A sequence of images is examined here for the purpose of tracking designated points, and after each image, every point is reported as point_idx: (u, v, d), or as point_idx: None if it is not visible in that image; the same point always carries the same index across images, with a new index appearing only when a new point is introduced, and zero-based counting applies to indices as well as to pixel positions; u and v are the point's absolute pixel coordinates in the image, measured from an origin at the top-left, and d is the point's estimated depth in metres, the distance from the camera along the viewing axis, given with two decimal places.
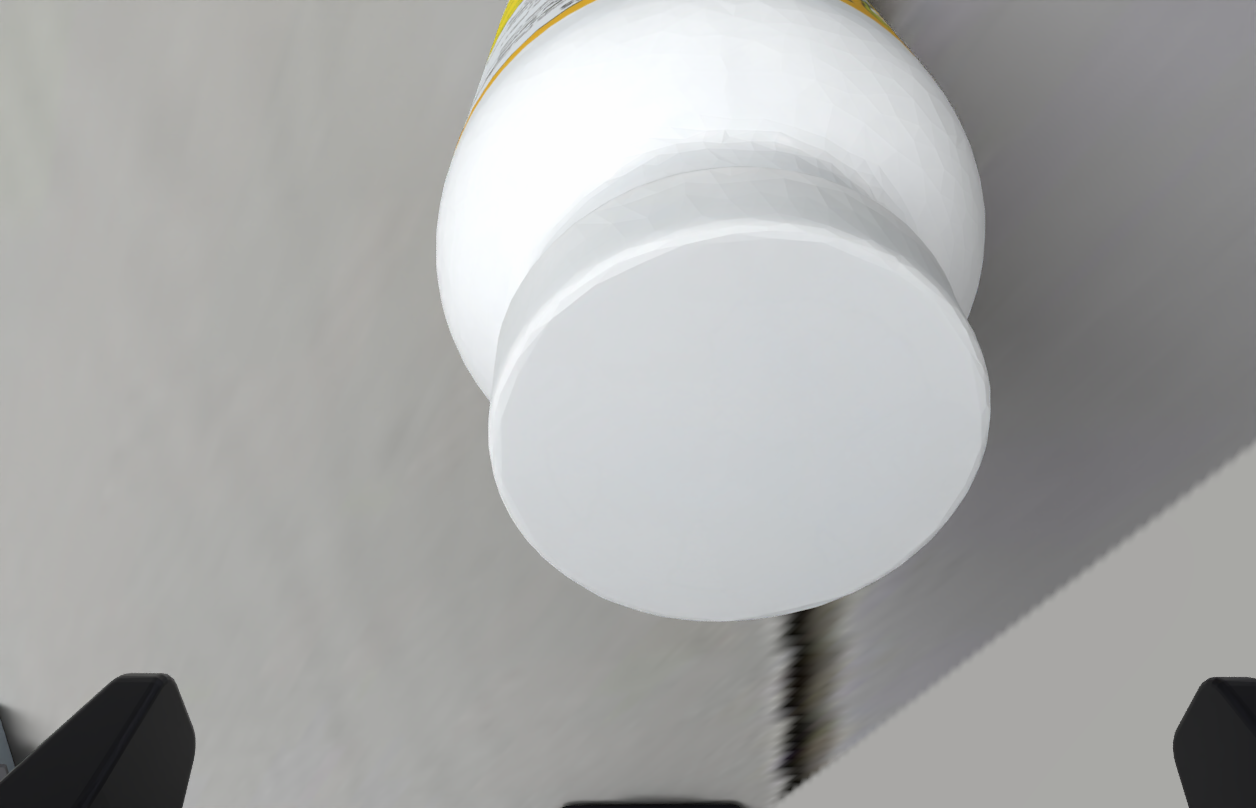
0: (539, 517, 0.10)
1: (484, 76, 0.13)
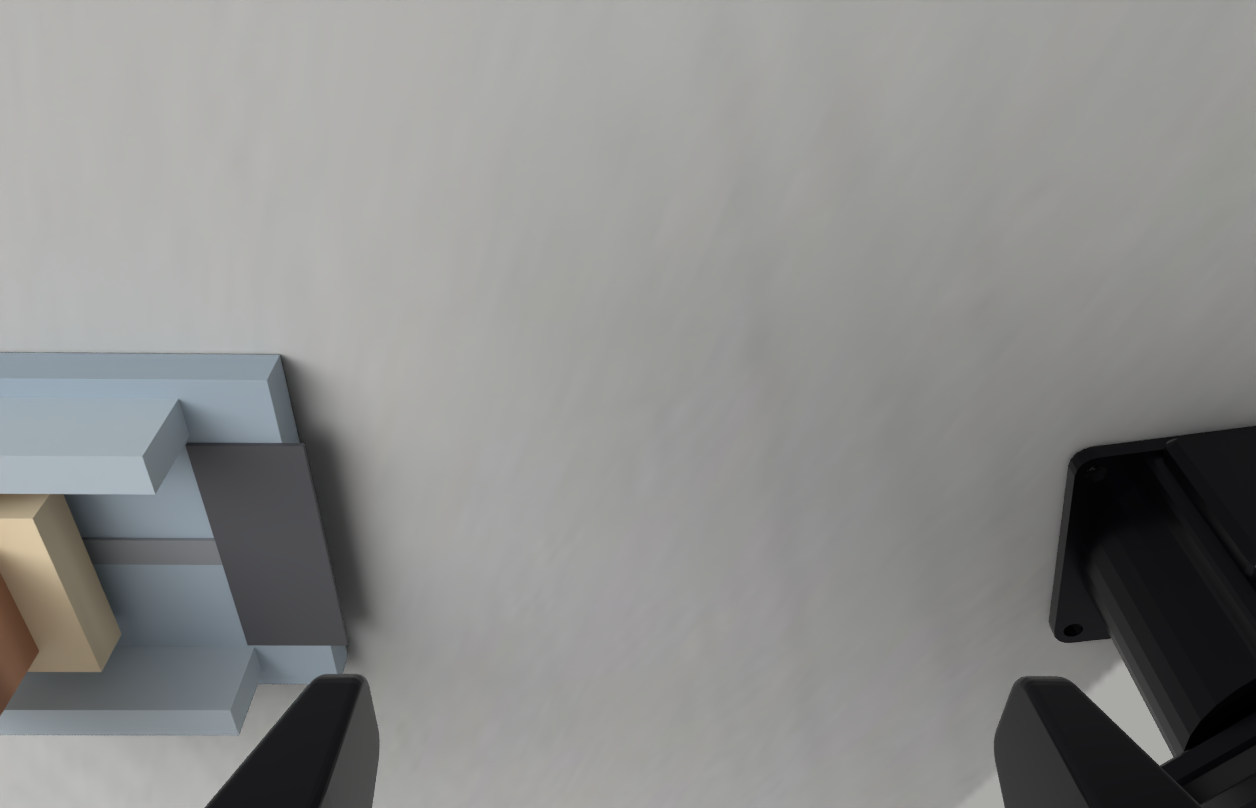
0: None
1: None
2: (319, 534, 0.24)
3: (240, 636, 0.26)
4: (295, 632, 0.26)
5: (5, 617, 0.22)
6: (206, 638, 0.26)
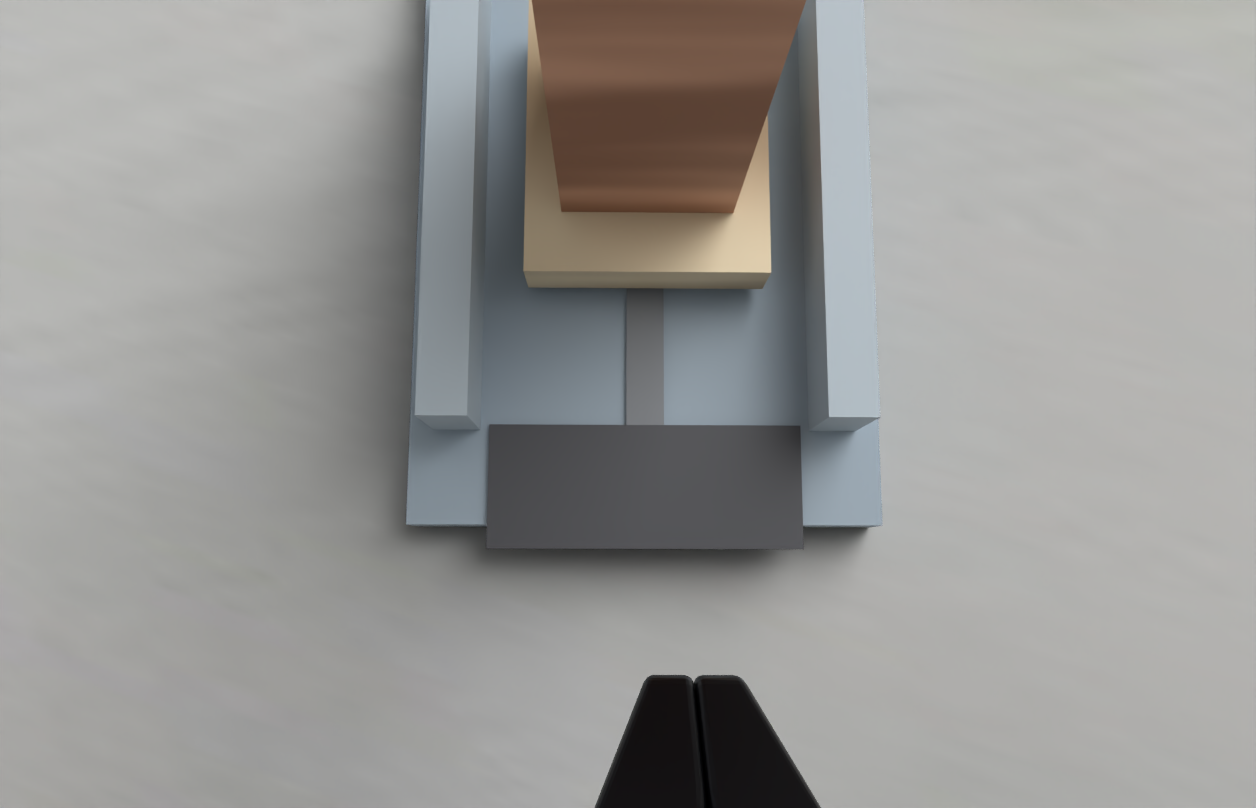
0: None
1: None
2: (675, 545, 0.21)
3: (500, 417, 0.21)
4: (512, 487, 0.21)
5: (644, 204, 0.20)
6: (496, 375, 0.21)
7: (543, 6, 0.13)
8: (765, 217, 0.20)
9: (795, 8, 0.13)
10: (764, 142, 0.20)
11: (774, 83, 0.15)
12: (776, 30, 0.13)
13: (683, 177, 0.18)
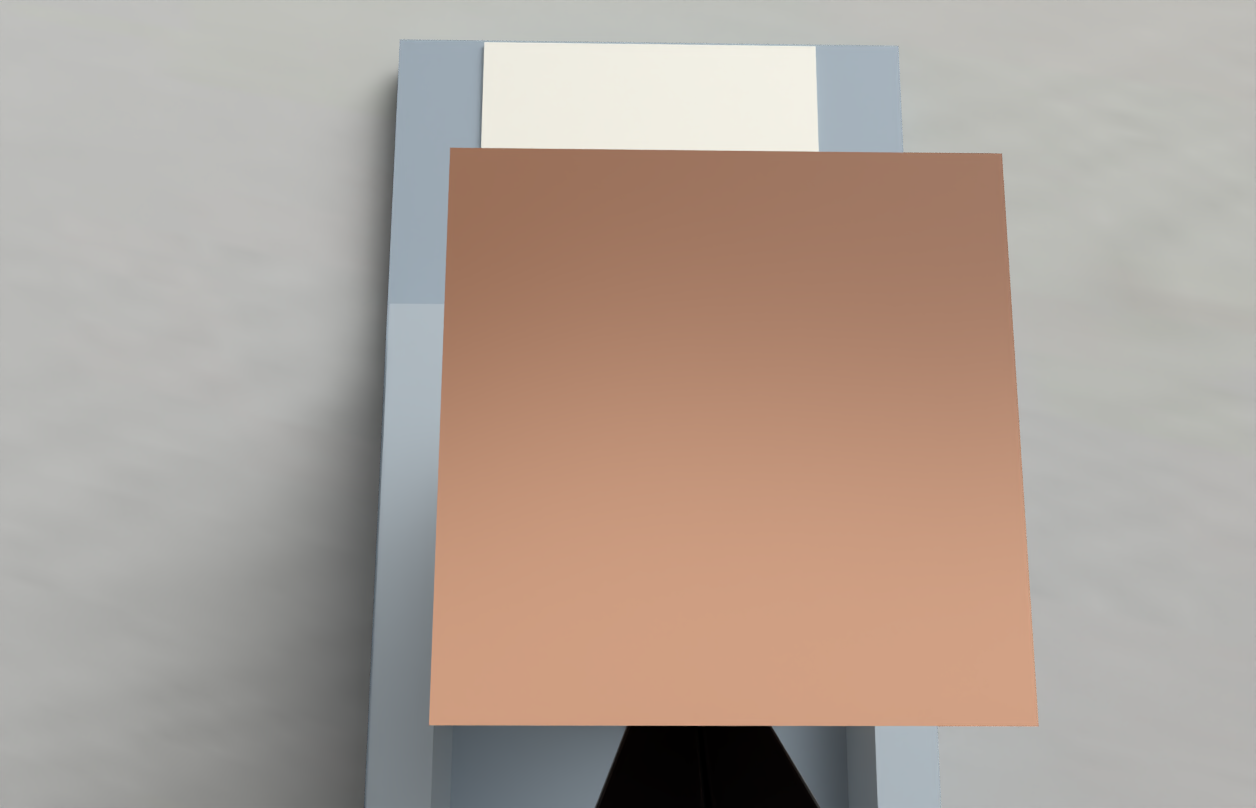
0: None
1: None
2: None
3: None
4: None
5: None
6: None
7: None
8: None
9: None
10: None
11: None
12: None
13: None
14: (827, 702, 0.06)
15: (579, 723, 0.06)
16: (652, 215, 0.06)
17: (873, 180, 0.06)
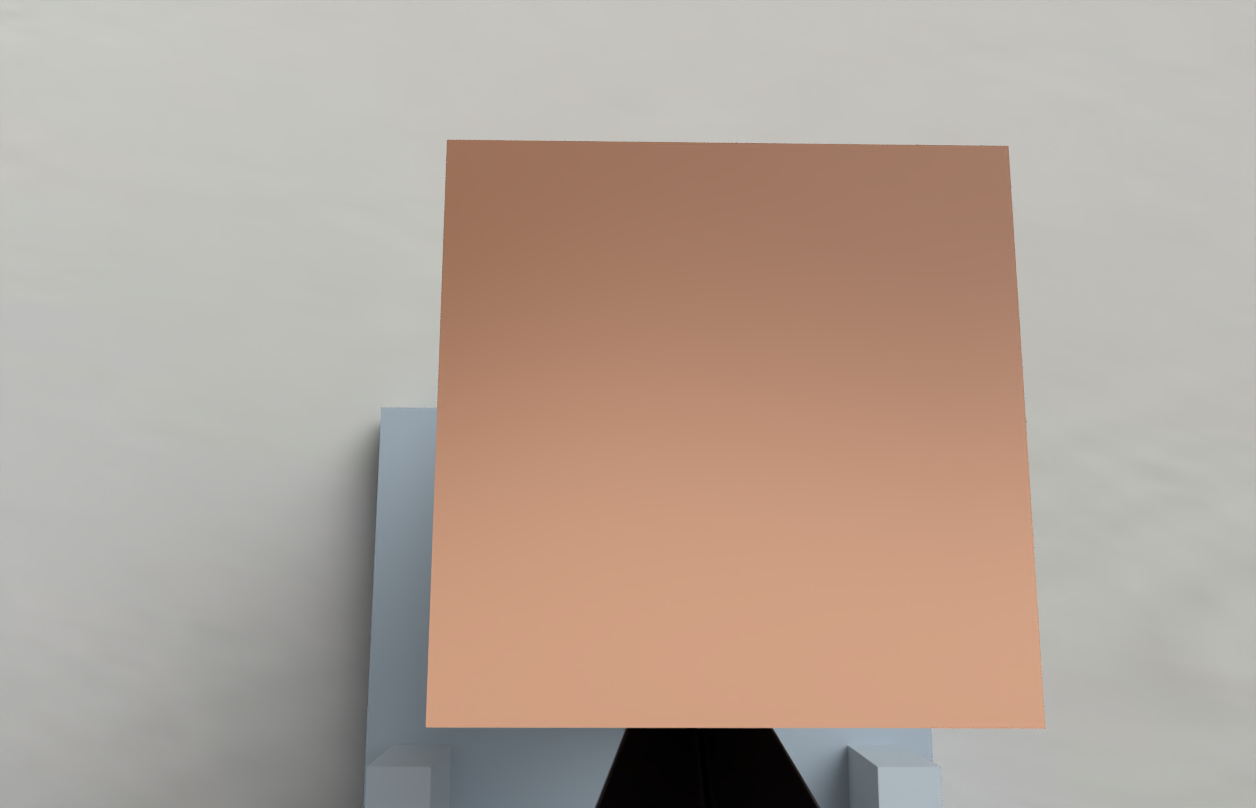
0: None
1: None
2: None
3: None
4: None
5: None
6: None
7: None
8: None
9: None
10: None
11: None
12: None
13: None
14: (829, 703, 0.06)
15: (577, 725, 0.06)
16: (652, 208, 0.06)
17: (877, 173, 0.06)
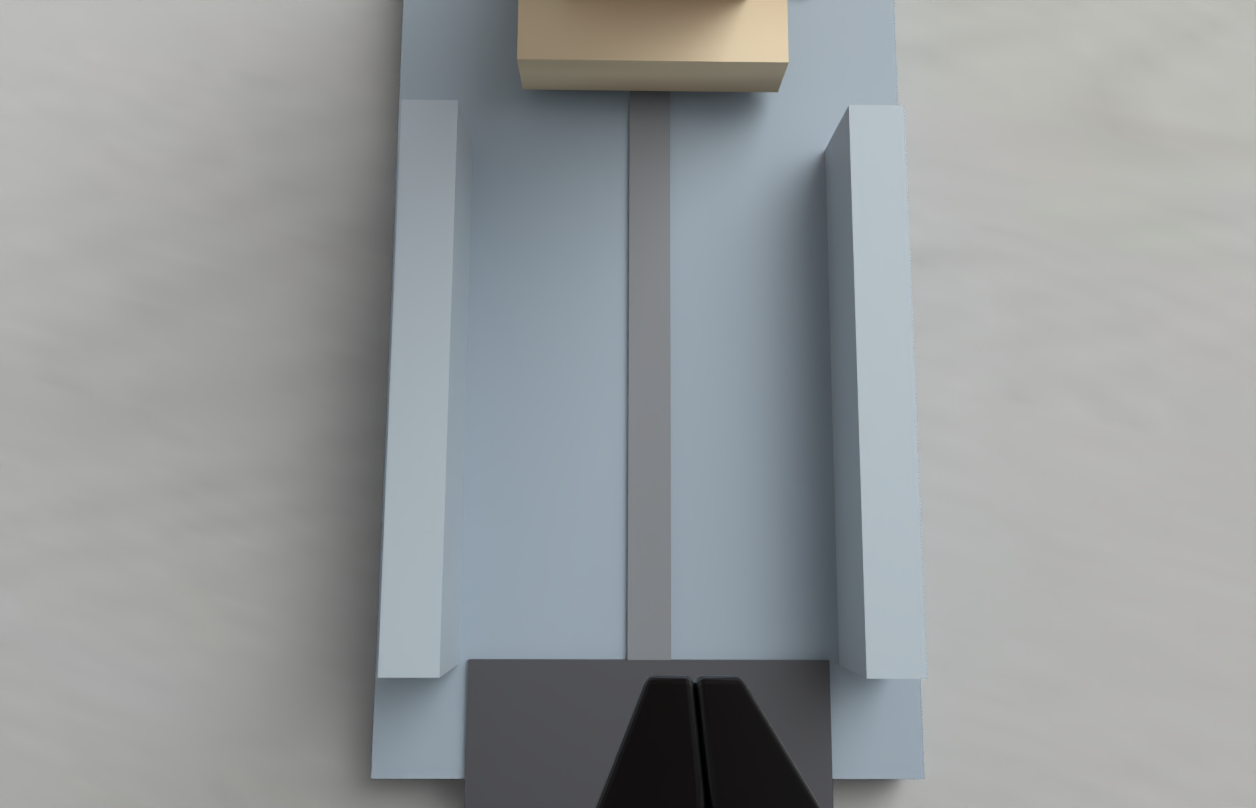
0: None
1: None
2: None
3: (481, 649, 0.18)
4: (494, 736, 0.18)
5: None
6: (477, 599, 0.18)
7: None
8: (782, 3, 0.18)
9: None
10: None
11: None
12: None
13: None
14: None
15: None
16: None
17: None
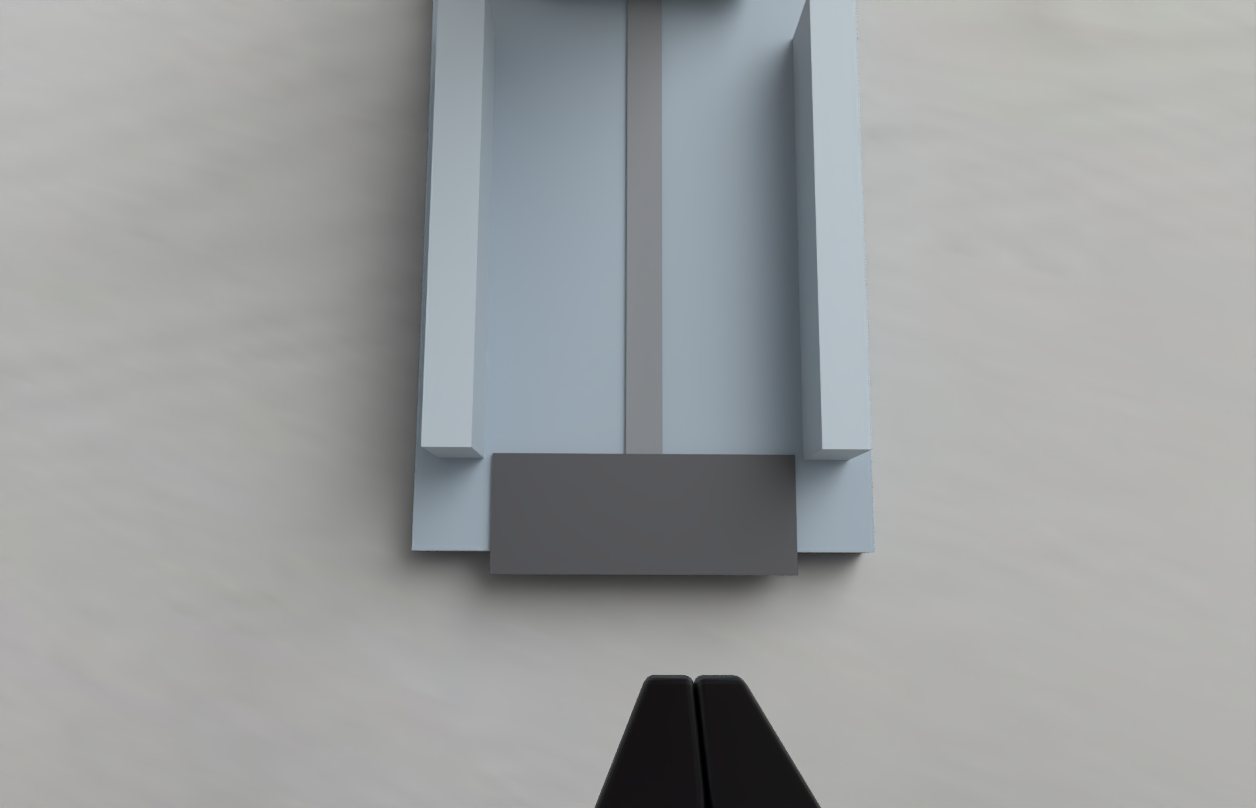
0: None
1: None
2: (673, 571, 0.21)
3: (503, 446, 0.22)
4: (515, 514, 0.21)
5: None
6: (500, 405, 0.22)
7: None
8: None
9: None
10: None
11: None
12: None
13: None
14: None
15: None
16: None
17: None
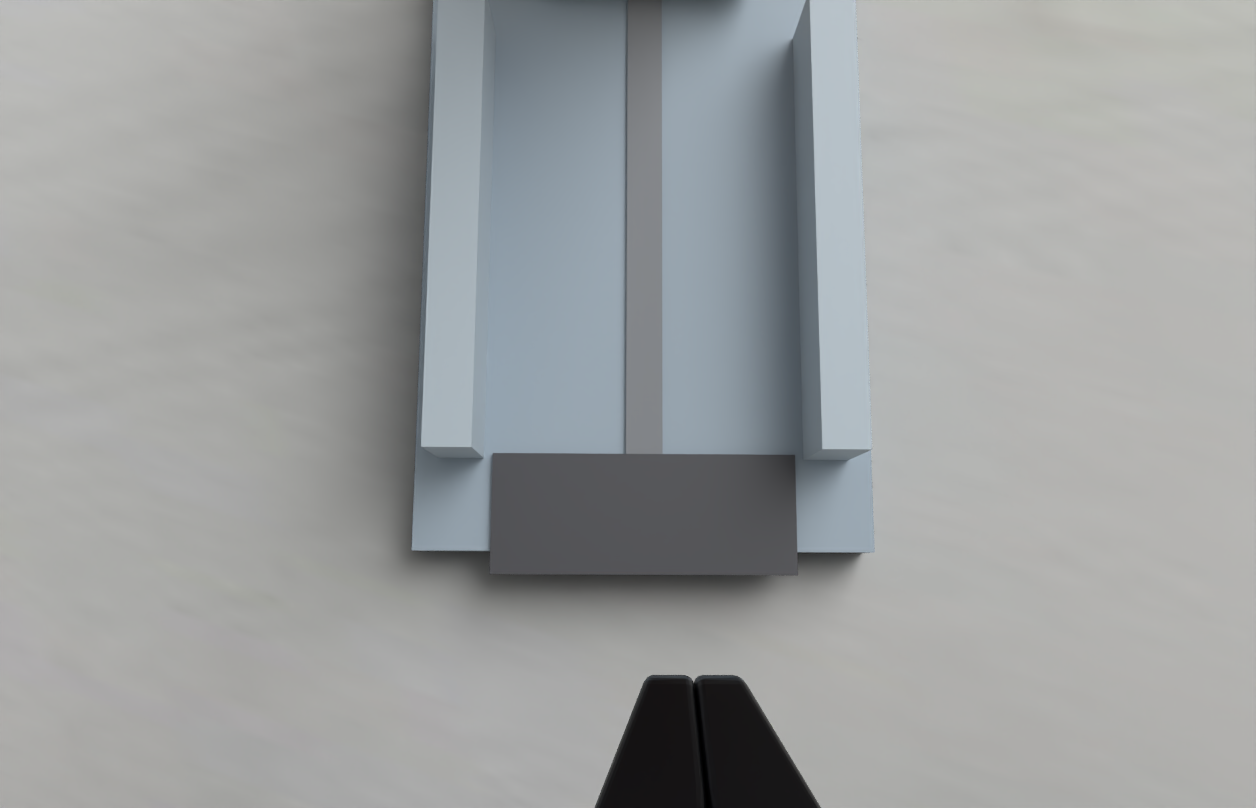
0: None
1: None
2: (673, 571, 0.21)
3: (503, 446, 0.22)
4: (515, 514, 0.21)
5: None
6: (500, 405, 0.22)
7: None
8: None
9: None
10: None
11: None
12: None
13: None
14: None
15: None
16: None
17: None
